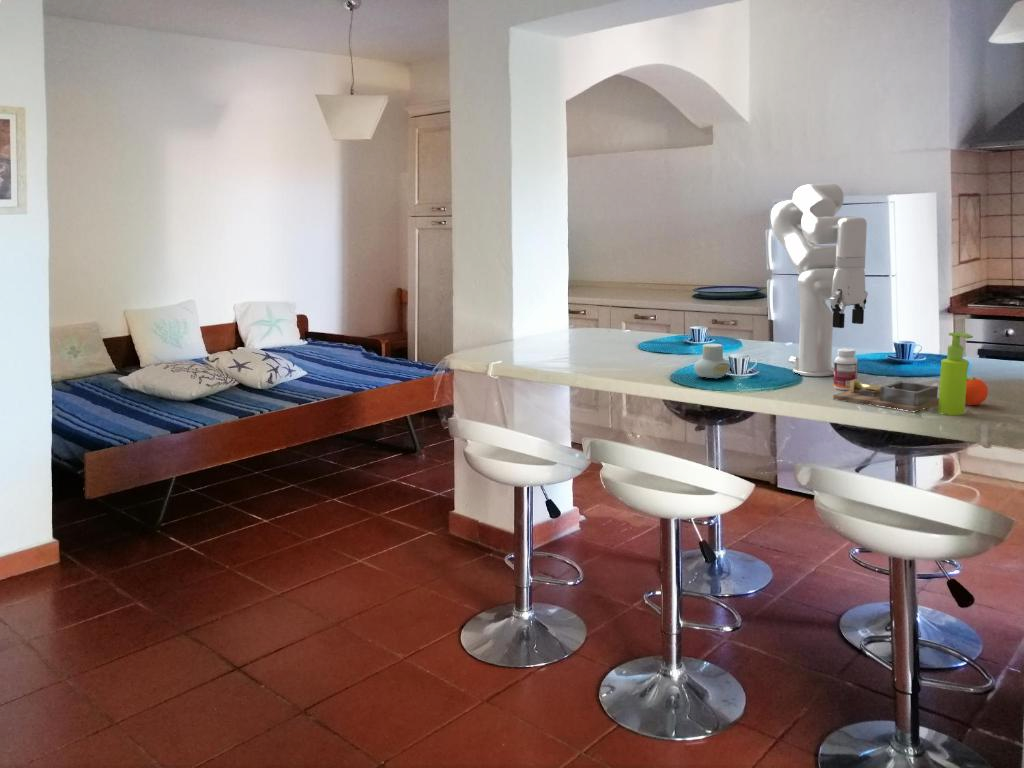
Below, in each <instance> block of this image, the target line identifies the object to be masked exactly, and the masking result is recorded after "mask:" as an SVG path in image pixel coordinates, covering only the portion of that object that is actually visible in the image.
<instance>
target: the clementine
mask: <svg viewBox="0 0 1024 768" xmlns="http://www.w3.org/2000/svg"><path fill="white" fill-rule="evenodd" d="M988 394H989V388H988V386H987V384H986V383H985V381H983V380H982V379H980V378H977V377H976V378H975V377H972V378H971V377H970V378H969V377H967V385H966V399H965V405H968V406H977V405H980V404H982V403H984V402H985V401H986V399H987V398H988V396H989V395H988Z"/></svg>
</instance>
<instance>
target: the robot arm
mask: <svg viewBox="0 0 1024 768" xmlns="http://www.w3.org/2000/svg"><path fill="white" fill-rule="evenodd" d="M844 197H845V195H844V193H843V190H842V188H841V186H839V185H838V184H836V183H809V184H808V183H807V184H804V185H801V186H799V187H797V189H795V191H794V192H793V195H792V199H788V200H782V201H780V202H778V203H776V204H775V205H774V206H773V207H772V209H771V212H770V221H771V227H772V231H773V233H774V235H775V237H776V239H777V240H778V241H779V243H780V244H781V245H782V246H783V248H784V250H785V251H786V254H787V256H788V258H789V261H790V262H791V264H792V267H793V269H794V271H795V273H796V274H797V275H799V276H798V279H797V291H798V297H799V300H798V301H799V336H798V337H799V338H798V339H799V341H798V342H799V344H798V356H790V357H789V359H788V363H789V364H791V365H795V366H794V367H792V368H793V369H792V372H793V373H794V372H795V373H798V374H800V375H799V376H805V377H829V376H834V366H832V362H833V361H832V358H833V357H832V356H833V333H834V332H833V331H834V330H833V328H837V329H844V328H845V318H846V317H845V316H846V315H845V314H846V313H845V309H846V308H847V306H848V307H849V306H852V307H853V308H852V311H851V313H852V314H851V324H856V325H857V324H858V325H863V324H864V318H865V317H864V316H865V309H866V306H865V305H866V303H867V299H868V295H869V293H868V291H866V275H865V274H866V273H865V269H866V255H867V254H866V253H867V251H866V250H867V230H868V229H867V227H868V226H867V224H868V223H867V219H866V218H863V217H860V216H859V217H856V216H853V215H844V216H842V215H841V216H838V215H837V216H835V215H836V214H837V213H838V212H839V211H840V210H841V209H842V206H843V204H844V200H845V199H844ZM835 244H836V245H835ZM827 301H828V302H830V307H829V306H828V304H827V303H826V302H827ZM795 373H794V374H795ZM798 374H797V375H798Z"/></svg>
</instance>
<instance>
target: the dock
mask: <svg viewBox="0 0 1024 768" xmlns="http://www.w3.org/2000/svg"><path fill="white" fill-rule="evenodd" d="M882 386H883V385H882ZM938 388H939V387H938V385H937V386H936V385H931V384H930V385H929V384H923V383H922V384H921V383H916V382H909V381H902V380H900V381H896V382H894V383H891V384H886V385H884V386H883V387H881V388H880V394H879V393H876V391H870V390H863V389H861V390H859V391H856V392H850V390H844V391H843V392H842V391H841V392H839V393H836V394H835V393H834V394H833V396H832V397H833V398H832V399H833V400H835V399H839V400H838V401H841V400H846V401H845V402H847V401H851V402H850V403H853V402H857V403H856V404H858V403H863V404H862V405H864V404H871V405H879V406H885V407H891V408H896V409H897V408H898V409H903V410H908V411H916V410H919V411H921V410H920V409H922V410H924V409H923V408H925V409H927V407H928V408H931V407H933V405H934V406H936V405H939V397H938V394H939V393H938ZM930 406H931V407H930Z"/></svg>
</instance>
